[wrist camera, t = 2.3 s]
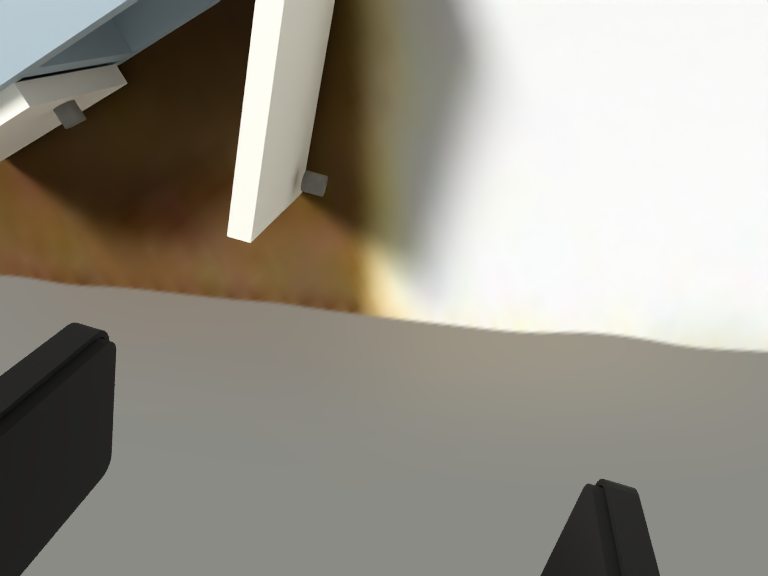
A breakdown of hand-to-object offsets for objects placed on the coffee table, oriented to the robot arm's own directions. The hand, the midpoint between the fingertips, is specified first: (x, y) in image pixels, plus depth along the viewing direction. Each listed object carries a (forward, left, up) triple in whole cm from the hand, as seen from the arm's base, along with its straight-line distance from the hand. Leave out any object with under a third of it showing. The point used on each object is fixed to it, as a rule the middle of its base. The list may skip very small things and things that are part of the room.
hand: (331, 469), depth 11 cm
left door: (+3, -6, -22) cm, 23 cm away
